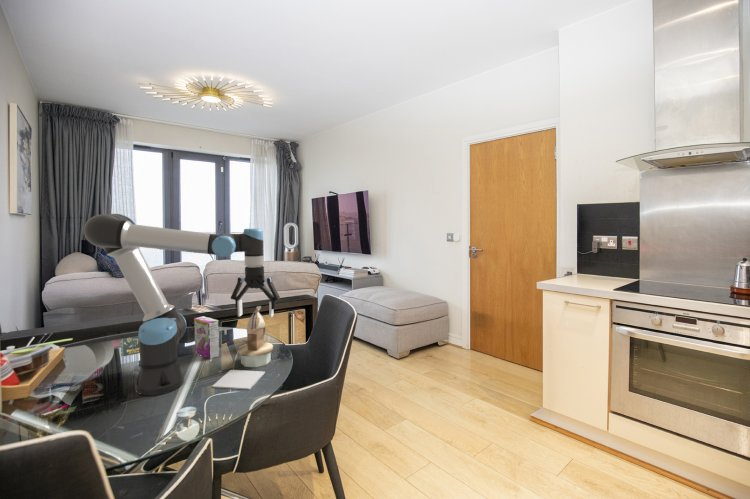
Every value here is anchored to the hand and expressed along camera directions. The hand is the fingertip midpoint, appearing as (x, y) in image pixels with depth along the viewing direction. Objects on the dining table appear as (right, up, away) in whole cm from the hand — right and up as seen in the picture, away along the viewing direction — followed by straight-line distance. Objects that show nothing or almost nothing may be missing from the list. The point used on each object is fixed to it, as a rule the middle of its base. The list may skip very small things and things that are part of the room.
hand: (255, 316), depth 152 cm
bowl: (0, -20, +2) cm, 20 cm away
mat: (-1, -21, -15) cm, 26 cm away
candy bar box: (-24, -19, +8) cm, 32 cm away
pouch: (-7, -18, +22) cm, 29 cm away
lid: (0, -15, +1) cm, 15 cm away
